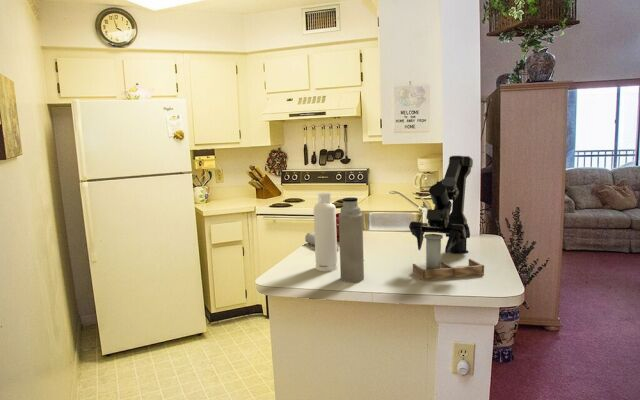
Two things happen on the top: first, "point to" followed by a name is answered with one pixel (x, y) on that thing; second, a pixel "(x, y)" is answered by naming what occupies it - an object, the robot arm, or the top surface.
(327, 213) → the bottle
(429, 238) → the cord reel
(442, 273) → the rack
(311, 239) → the tube
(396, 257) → the top surface
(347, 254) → the thermos bottle
